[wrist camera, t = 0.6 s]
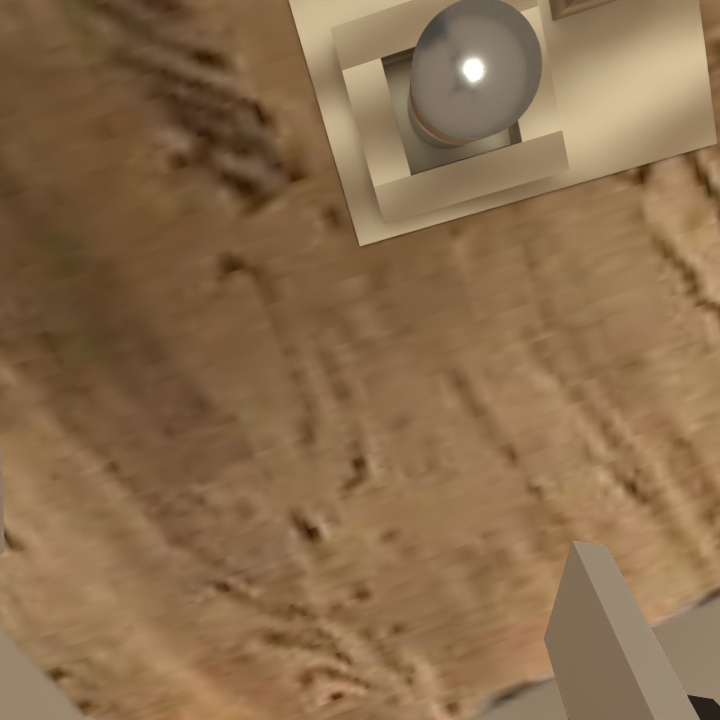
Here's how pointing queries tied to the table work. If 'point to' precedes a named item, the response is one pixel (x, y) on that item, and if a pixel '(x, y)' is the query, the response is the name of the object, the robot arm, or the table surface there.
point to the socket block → (531, 131)
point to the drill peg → (472, 73)
